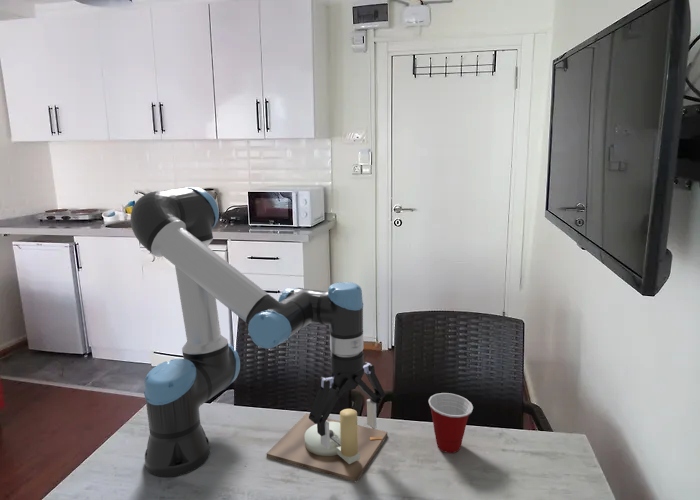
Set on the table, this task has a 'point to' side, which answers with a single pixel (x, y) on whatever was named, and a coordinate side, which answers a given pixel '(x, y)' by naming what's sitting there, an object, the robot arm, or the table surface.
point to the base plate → (297, 454)
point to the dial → (337, 438)
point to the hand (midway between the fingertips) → (349, 436)
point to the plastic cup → (449, 420)
